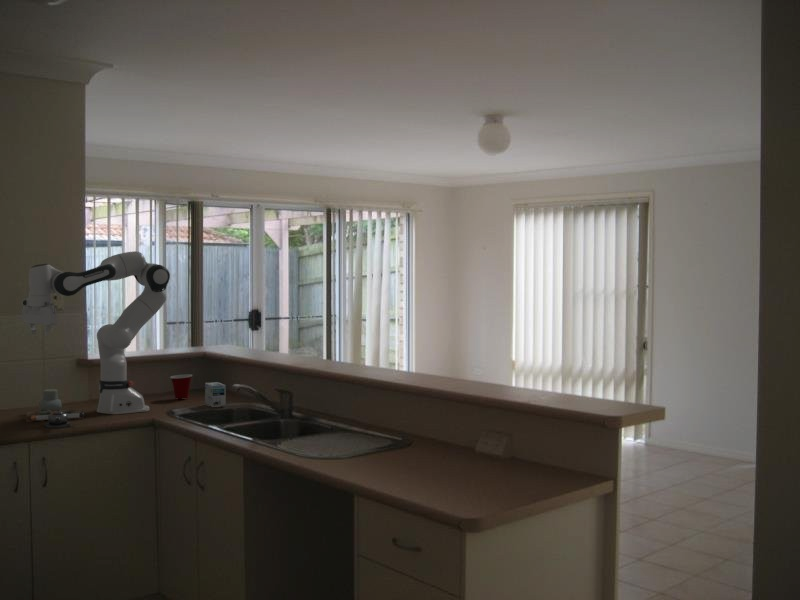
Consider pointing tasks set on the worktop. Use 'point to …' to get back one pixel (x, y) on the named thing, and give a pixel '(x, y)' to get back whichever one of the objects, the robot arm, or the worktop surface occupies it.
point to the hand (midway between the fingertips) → (39, 334)
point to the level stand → (29, 414)
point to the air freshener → (50, 401)
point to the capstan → (57, 417)
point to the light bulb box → (215, 394)
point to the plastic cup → (181, 385)
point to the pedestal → (58, 425)
